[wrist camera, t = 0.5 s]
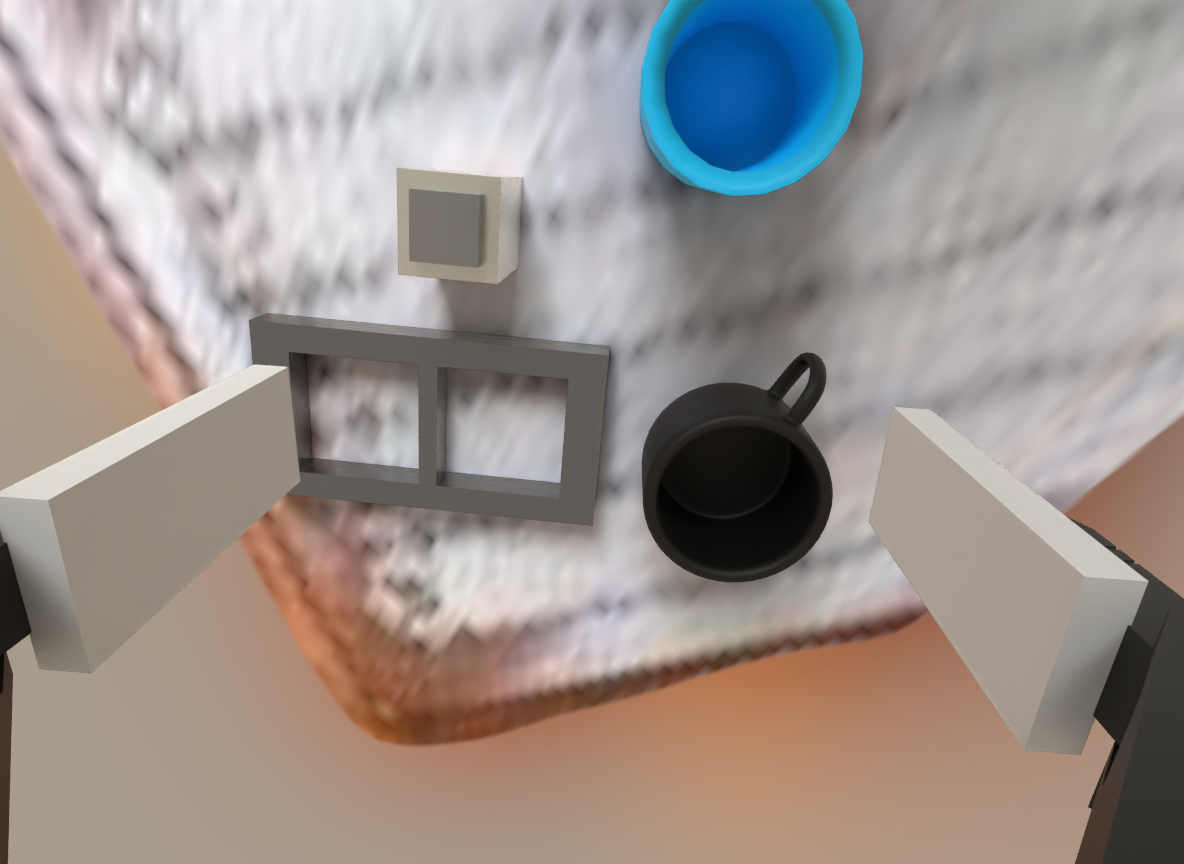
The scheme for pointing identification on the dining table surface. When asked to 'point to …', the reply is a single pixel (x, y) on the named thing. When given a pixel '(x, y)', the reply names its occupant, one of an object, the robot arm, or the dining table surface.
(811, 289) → the dining table surface
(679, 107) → the mug
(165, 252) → the dining table surface
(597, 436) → the grey window frame
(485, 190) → the beige square peg
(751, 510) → the mug
